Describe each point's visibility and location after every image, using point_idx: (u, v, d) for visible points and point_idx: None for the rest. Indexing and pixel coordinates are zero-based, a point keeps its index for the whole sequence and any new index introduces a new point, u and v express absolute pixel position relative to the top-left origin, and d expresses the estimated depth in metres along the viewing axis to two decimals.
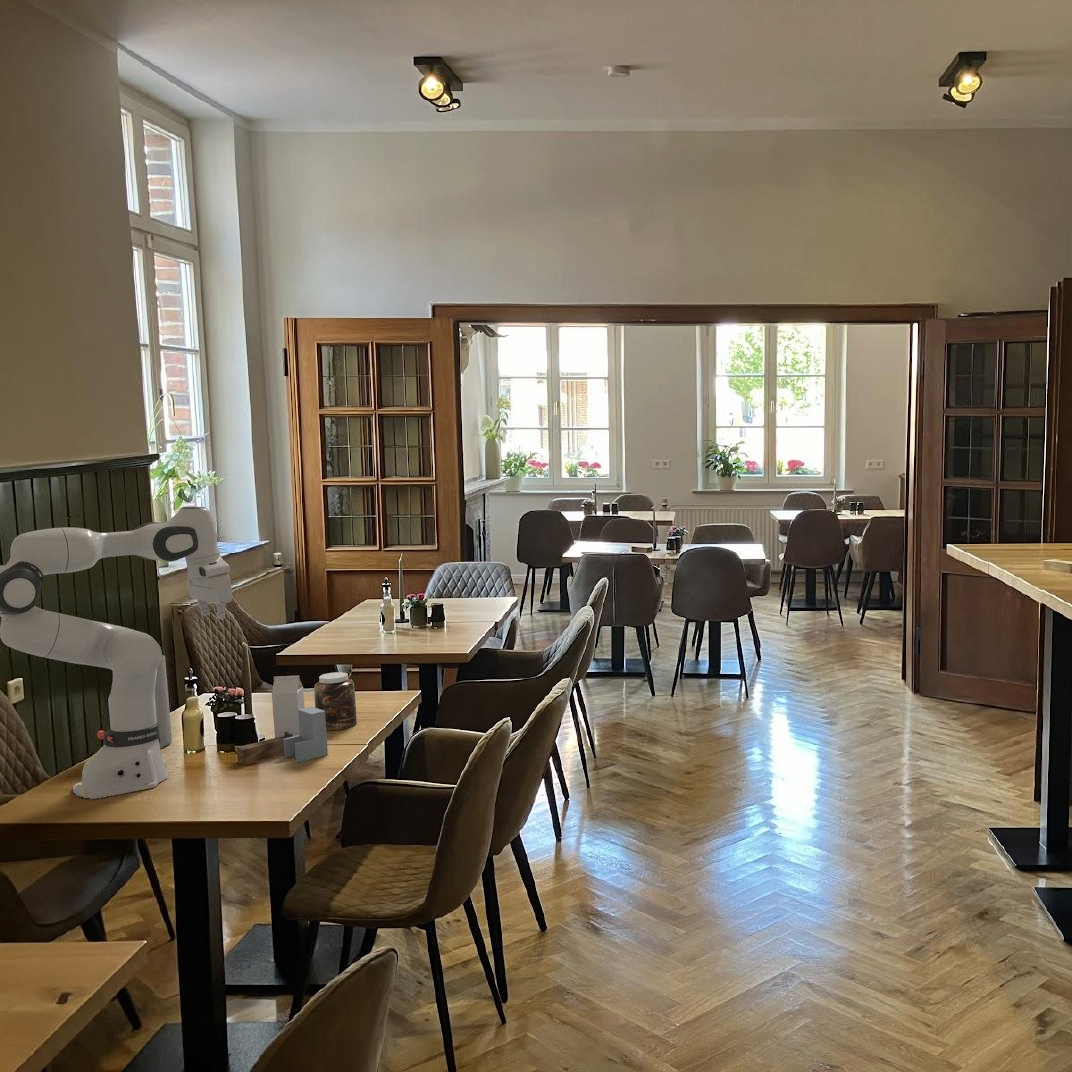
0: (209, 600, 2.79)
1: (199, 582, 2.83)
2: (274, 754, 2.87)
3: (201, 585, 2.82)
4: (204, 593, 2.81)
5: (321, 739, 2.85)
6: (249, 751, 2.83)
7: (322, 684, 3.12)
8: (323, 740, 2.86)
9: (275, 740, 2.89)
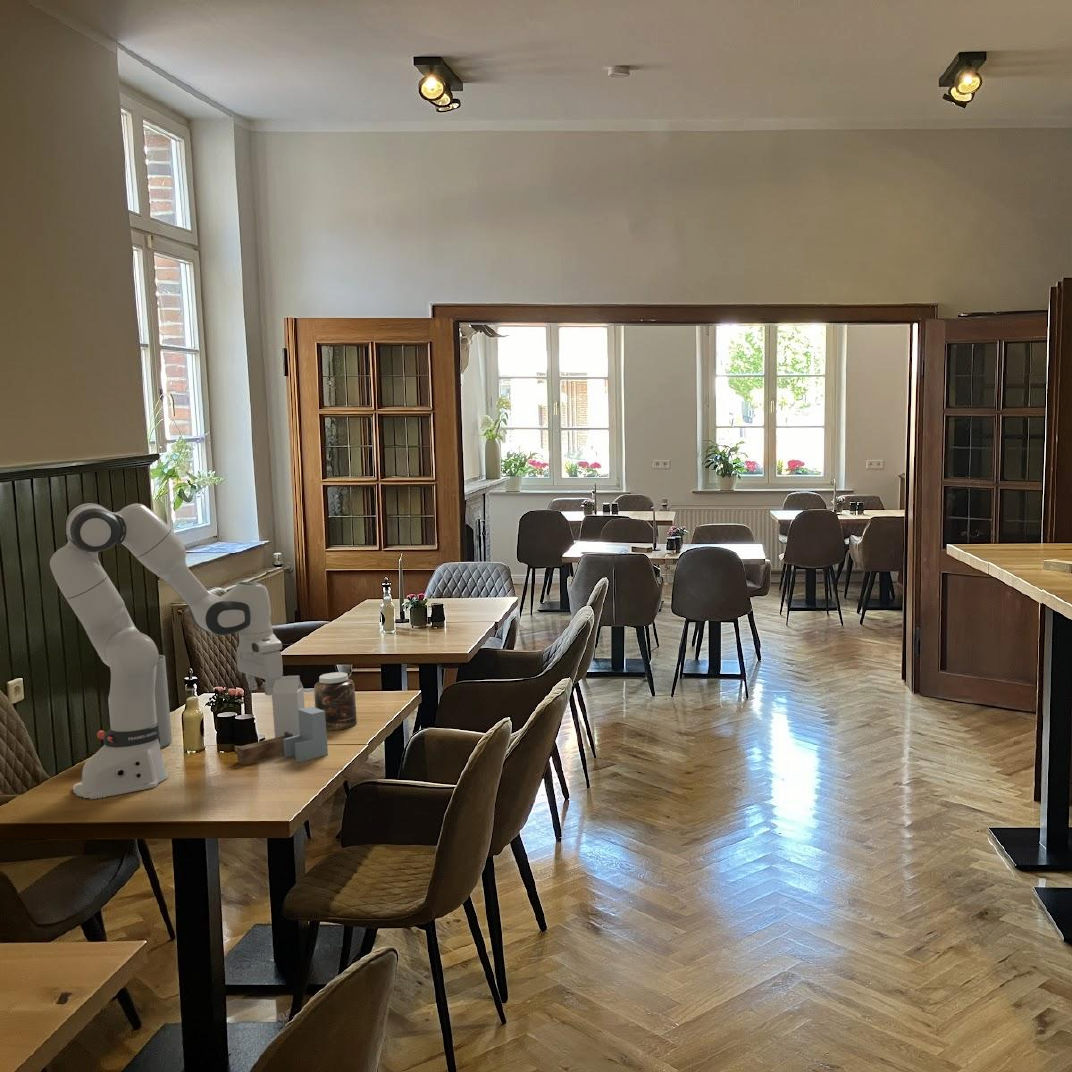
0: (258, 675, 2.82)
1: (250, 657, 2.85)
2: (274, 754, 2.87)
3: (251, 660, 2.85)
4: (254, 668, 2.83)
5: (321, 739, 2.85)
6: (249, 751, 2.83)
7: (322, 684, 3.12)
8: (323, 740, 2.86)
9: (275, 740, 2.89)
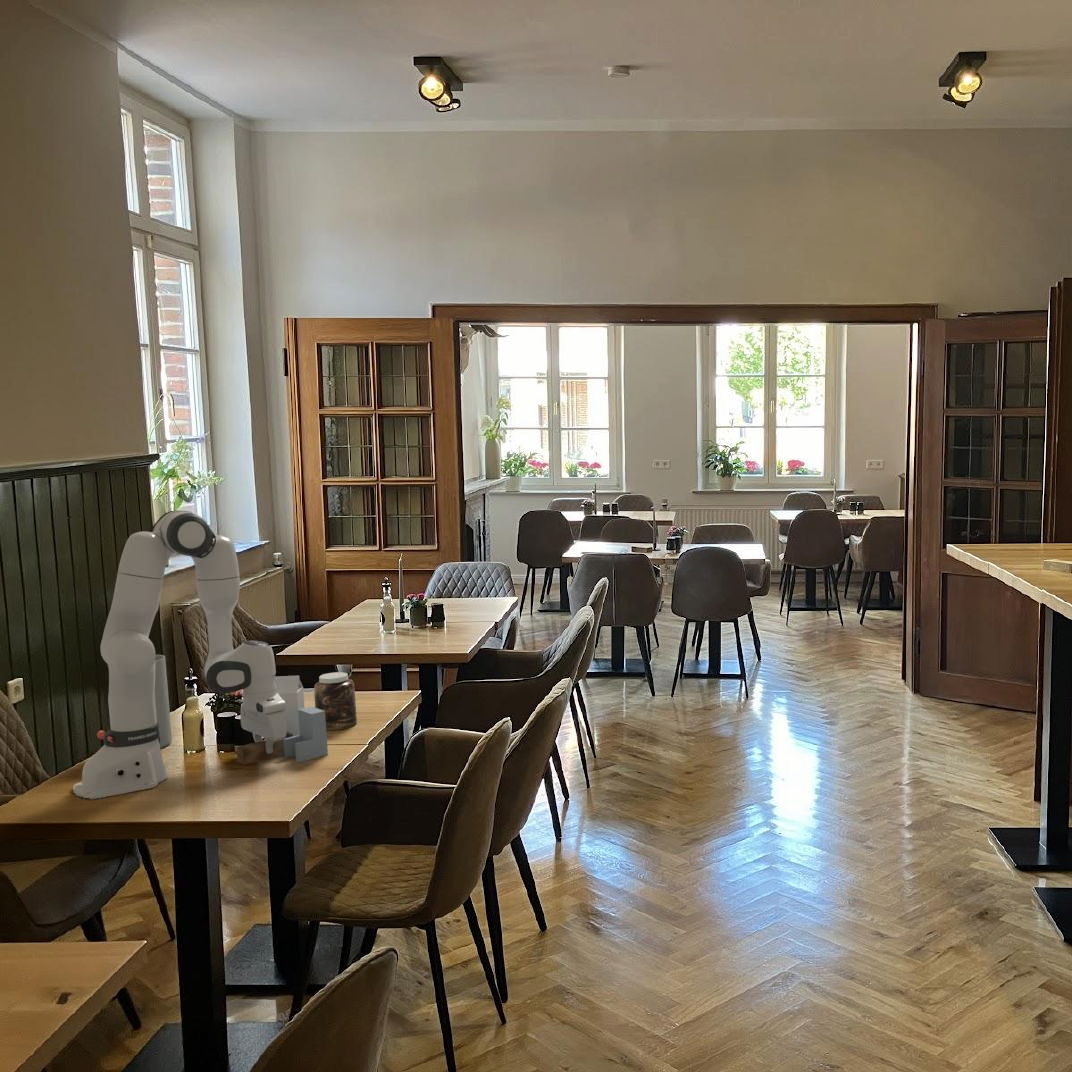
0: (262, 734, 2.83)
1: (253, 715, 2.87)
2: (274, 754, 2.87)
3: (255, 719, 2.86)
4: (258, 727, 2.85)
5: (321, 739, 2.85)
6: (249, 751, 2.83)
7: (322, 684, 3.12)
8: (323, 740, 2.86)
9: None
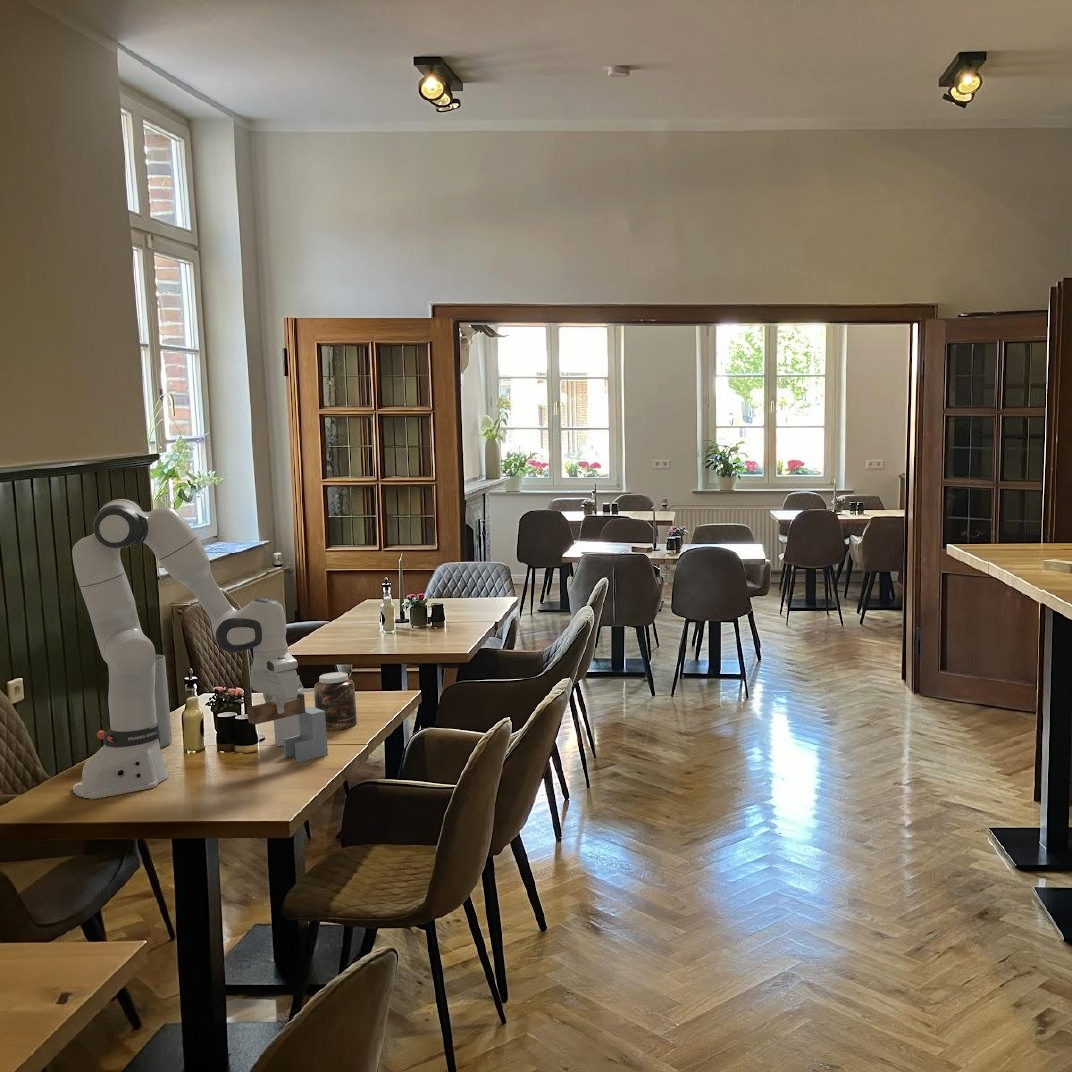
0: (273, 694, 2.76)
1: (264, 675, 2.79)
2: (285, 714, 2.80)
3: (266, 678, 2.79)
4: (269, 687, 2.77)
5: (321, 739, 2.85)
6: (260, 711, 2.75)
7: (322, 684, 3.12)
8: (323, 740, 2.86)
9: None
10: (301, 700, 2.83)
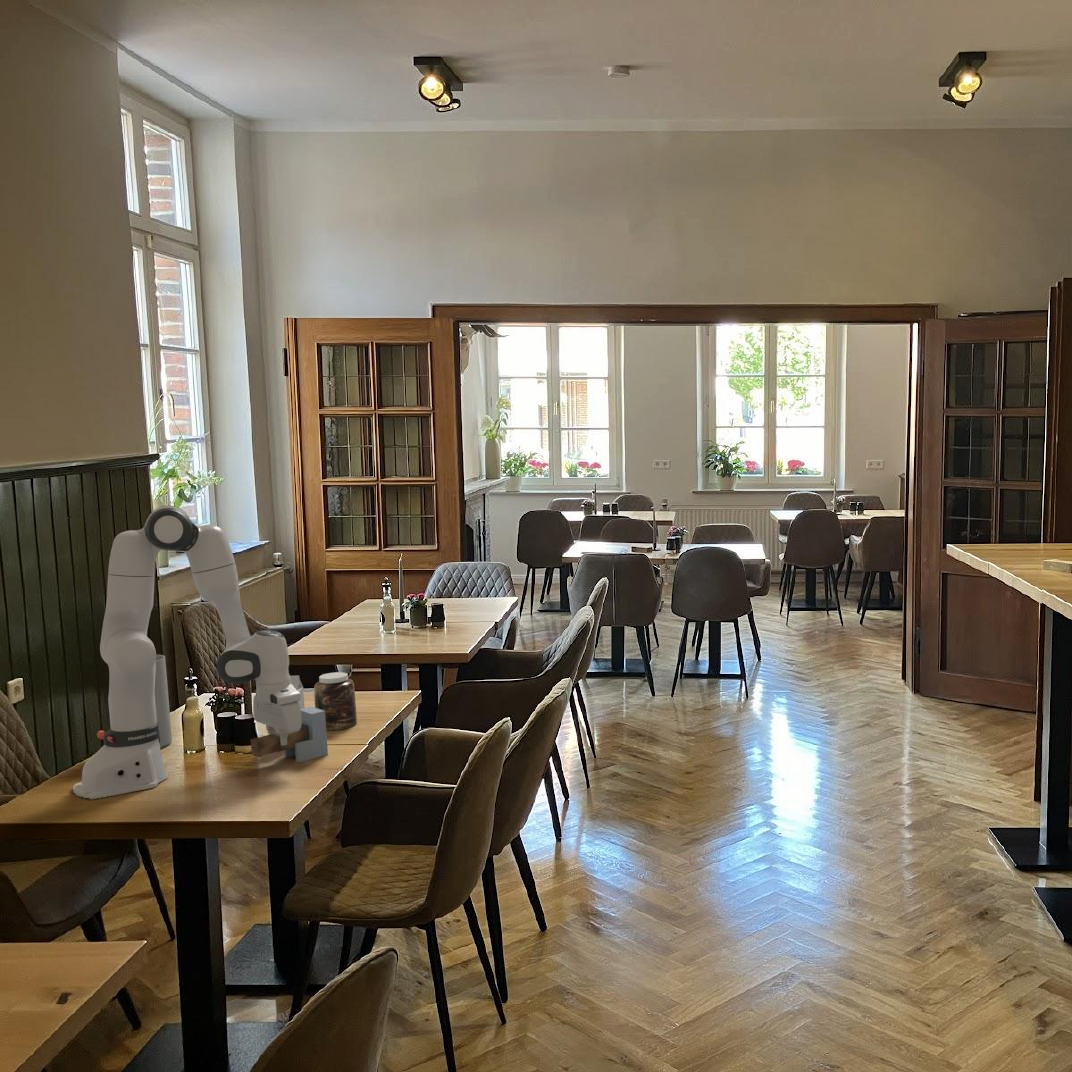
0: (276, 726, 2.77)
1: (267, 707, 2.81)
2: (289, 746, 2.81)
3: (269, 710, 2.80)
4: (272, 719, 2.79)
5: (321, 739, 2.85)
6: (263, 743, 2.77)
7: (322, 684, 3.12)
8: (323, 740, 2.86)
9: None
10: (304, 731, 2.84)
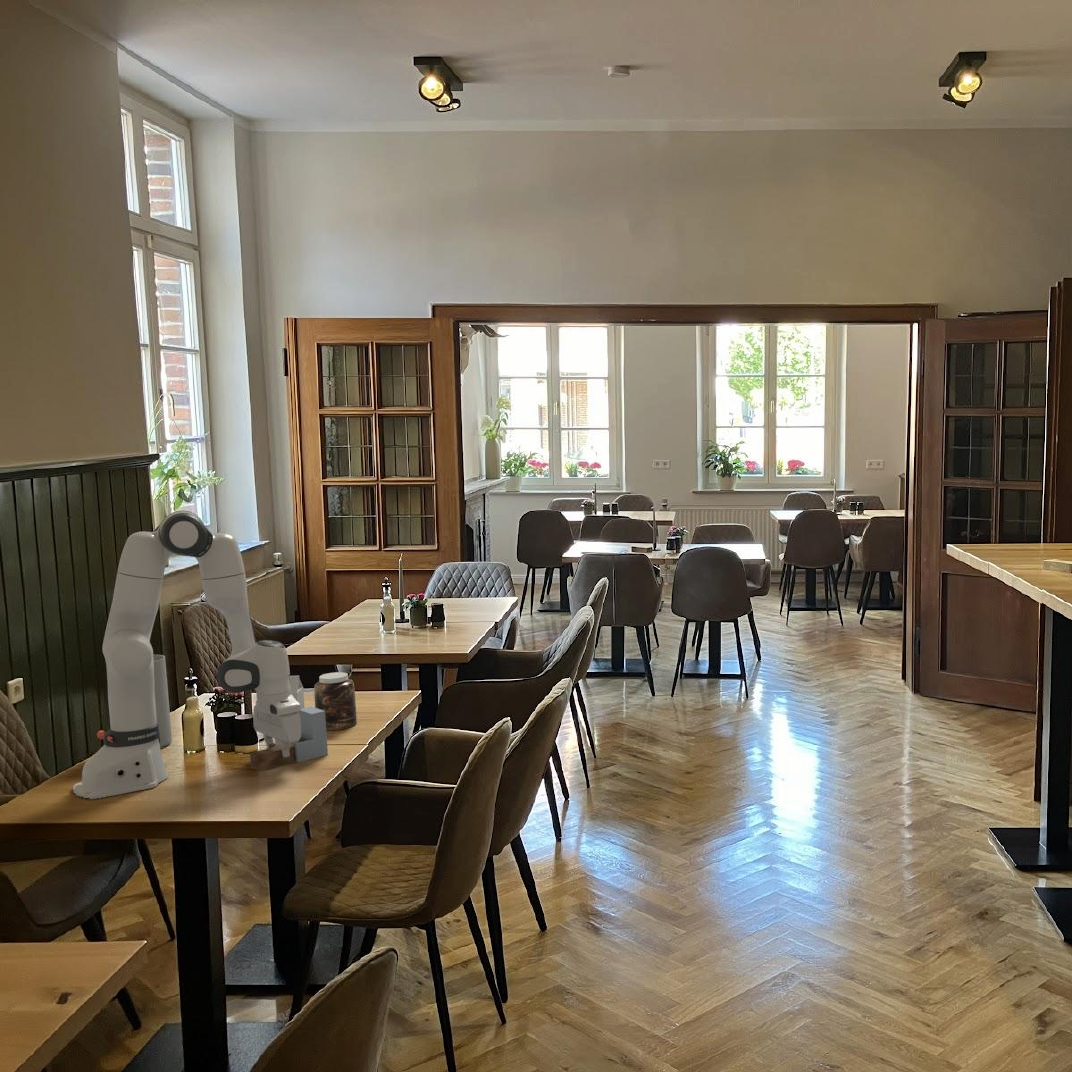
0: (276, 737, 2.77)
1: (267, 717, 2.81)
2: (288, 760, 2.81)
3: (269, 721, 2.80)
4: (272, 730, 2.79)
5: (321, 739, 2.85)
6: (263, 757, 2.77)
7: (322, 684, 3.12)
8: (323, 740, 2.86)
9: None
10: None
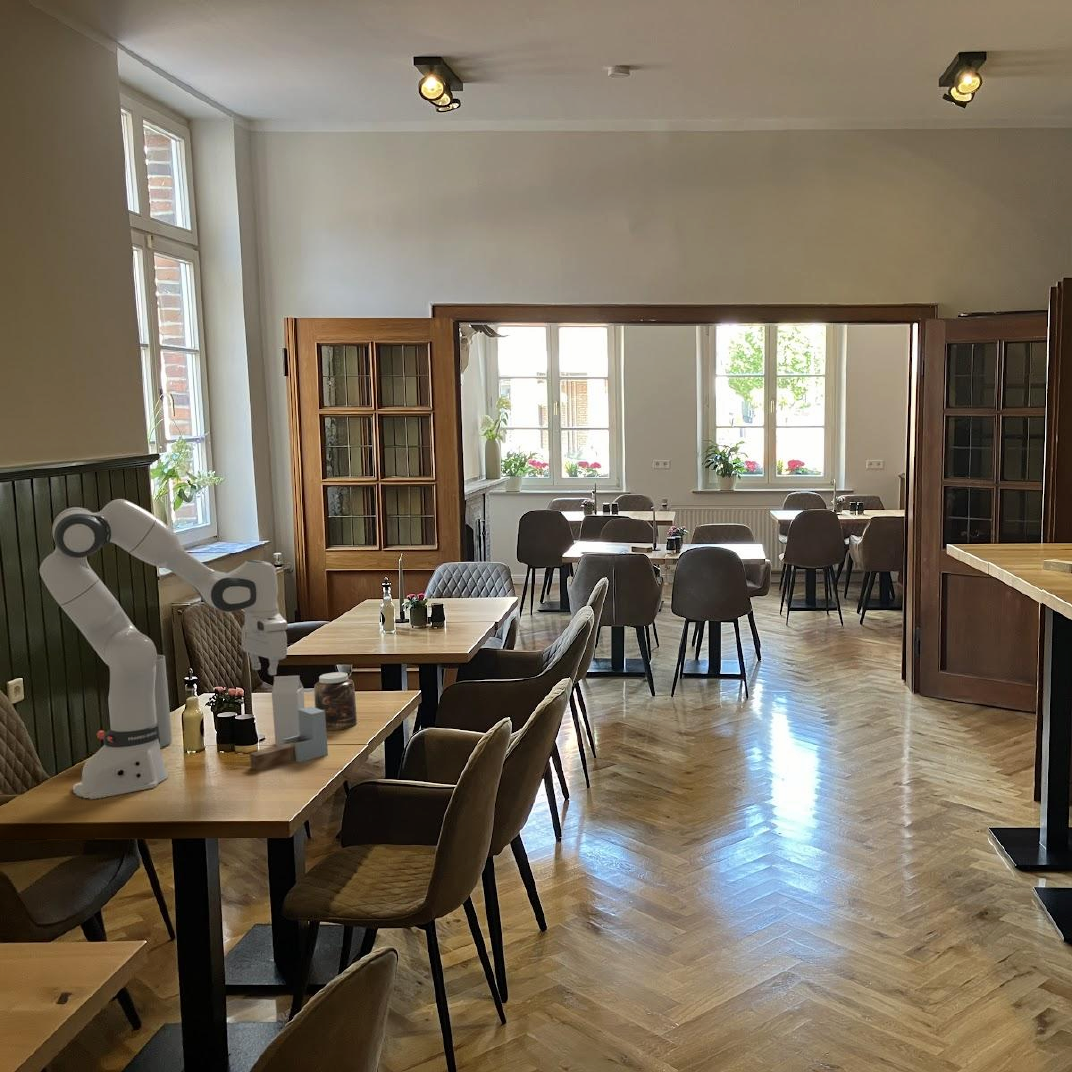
0: (262, 654, 2.79)
1: (254, 636, 2.83)
2: (288, 760, 2.81)
3: (256, 639, 2.82)
4: (259, 647, 2.81)
5: (321, 739, 2.85)
6: (263, 757, 2.77)
7: (322, 684, 3.12)
8: (323, 740, 2.86)
9: (288, 745, 2.83)
10: None
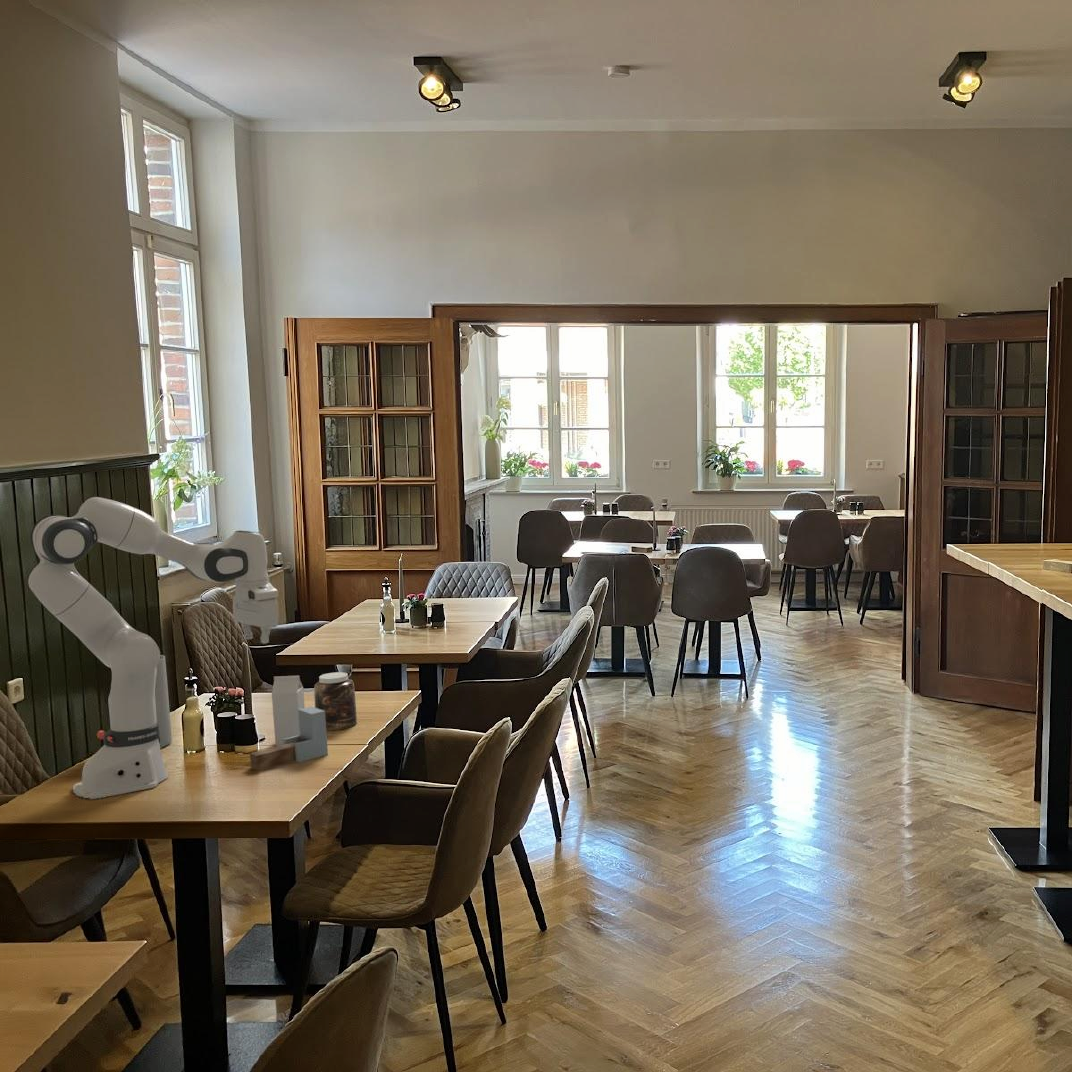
0: (254, 623, 2.84)
1: (246, 605, 2.87)
2: (288, 760, 2.81)
3: (247, 608, 2.86)
4: (250, 617, 2.85)
5: (321, 739, 2.85)
6: (263, 757, 2.77)
7: (322, 684, 3.12)
8: (323, 740, 2.86)
9: (289, 745, 2.83)
10: None
